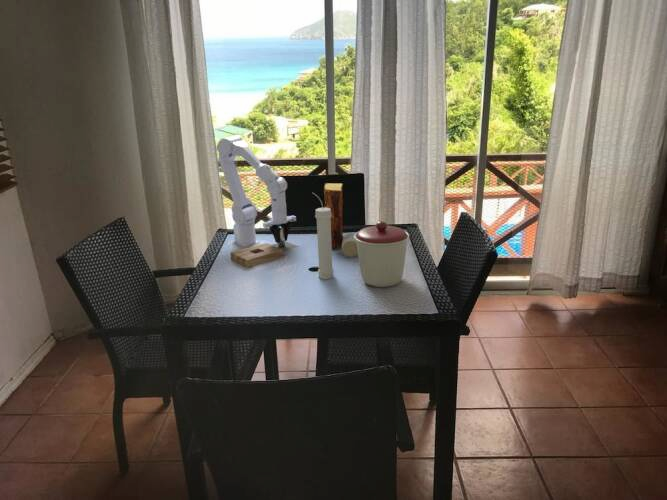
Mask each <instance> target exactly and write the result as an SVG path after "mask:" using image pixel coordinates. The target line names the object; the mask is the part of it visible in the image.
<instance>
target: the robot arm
mask: <svg viewBox="0 0 667 500" xmlns="http://www.w3.org/2000/svg"><path fill="white" fill-rule="evenodd" d="M216 149H217V151H218V161H219V164H220V165H219V166H220V168H221V170H222V172H223V176H224V178H225V181H226V185H227V187H228V190H229V192H230V195H231V199H232V201H233V204H232V206H231V208H230V209H231V213H232V215H231V216H232V220H233V221H234V224H233V227H232V228H233V237H234V240H232V242H233V243H235V244H237V245H239V246H242V247H243V248H245V247H250V246H254V245H256V244H257V245H258V244H261V241H260V240H257V239H256V238H257V237H256V226H255V221H256V217H257V216H258V210H257V207H255V205H254V204H253V201H252V200H251V199H250V198H247V195H246V193H245V189H244V186H243V183H242V181H241V178H240V175H239V173H238V169H237V165H236V163H235V160H236V157H237V156H238V157H241V158H243V160H245V161H246V162H247V163H248V165H250V166H251V167H252V168H253V169H254V170H255V175H256V176H257V177H258V178H259V180H261V181H262V182H263V184H264V185H266V189H267V192H268V194H269V197H270V203H271V204H270V205H271V217H272V218H271V219H269V220H267V221H265V222H262V225H263V228H264V229H269V230H270V231H271V233H272V236H273V238H274V242H275V244H276V243H280V227H284V234H285V241H286V242H288V237H289V233H290V230H291V228H292V225H293V224H292V223H291V222H297V216H295V215H287V203H286V202H287V201H286V190H287V189H288V182H287V181H286V179H285V178H284V177H281V176H279V175H278V174H276V172H275V171H273V170H272V169H271V168H272V167H271V166H270V165H269V164H267V163H262V162H261V161H260V160H259V158H258V157H257V156H256V155H255V153H254V152H253V151H252V150H251V149H250V147H249V146H248V143H247V141H246V140H244V138H243V137H242V136H241V135H239V134H235V135H233V136H228V137H222V138H220V140H219V141H218V143H217V144H216ZM279 225H280V226H279Z"/></svg>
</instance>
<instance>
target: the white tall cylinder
mask: <svg viewBox="0 0 667 500" xmlns="http://www.w3.org/2000/svg"><path fill="white" fill-rule="evenodd" d="M311 193H312V194H313V195H315V196H316V197H317V199H318V200H319V201H320V203H321V206H322V207H318V208H316V209H315V215H314V219H315V218H316V230H317V231H316V235H317V251H318V253H317V254H318V269H317V273H318V278H319V279H321V280H330V279H333V277H334V276H335V275H334V273H335V270H334V267H333V253H332V252H333V249H332V244H331V219H330V218H331V217H332V214H331V209H330V208H325V207H324V206H323V201H322V200H321V198H320V196H318V195H317V194H315V193H314V192H311Z"/></svg>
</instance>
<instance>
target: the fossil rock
mask: <svg viewBox="0 0 667 500" xmlns="http://www.w3.org/2000/svg"><path fill="white" fill-rule="evenodd" d="M323 188H324V189H323V194H324V195H323V196H324V208H330V209H331V214H332V217H331V218H330V219H331V244H332V250H337V249H339V248H342V242H343V238H344V237H345V236H344V232H343V204H344V200H343V183H333V182H332V183H328V182H326V183H324V187H323Z"/></svg>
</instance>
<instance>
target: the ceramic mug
mask: <svg viewBox="0 0 667 500" xmlns="http://www.w3.org/2000/svg"><path fill="white" fill-rule="evenodd" d="M354 235H355V233H353V232H350V233H348V234H346V235H345V236H343V237H344V238H343V242H342V247H341V252H342V254H343V255H344V256H345V257H347V258H350V259H351V258H356V257H357V256H358V250H357V242H356V240H355V238H354Z"/></svg>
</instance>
